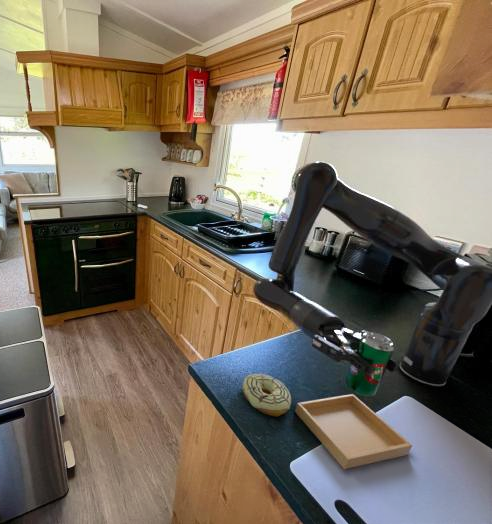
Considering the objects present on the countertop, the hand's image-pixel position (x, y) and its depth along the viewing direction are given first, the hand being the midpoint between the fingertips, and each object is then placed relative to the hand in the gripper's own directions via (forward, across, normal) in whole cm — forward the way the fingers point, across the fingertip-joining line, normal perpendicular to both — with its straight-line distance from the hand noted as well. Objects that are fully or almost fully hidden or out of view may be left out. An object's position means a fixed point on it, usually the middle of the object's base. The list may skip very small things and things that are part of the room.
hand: (383, 369), depth 54 cm
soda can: (-3, 0, +7) cm, 8 cm away
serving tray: (-1, 0, +18) cm, 18 cm away
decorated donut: (-12, -13, +18) cm, 25 cm away
